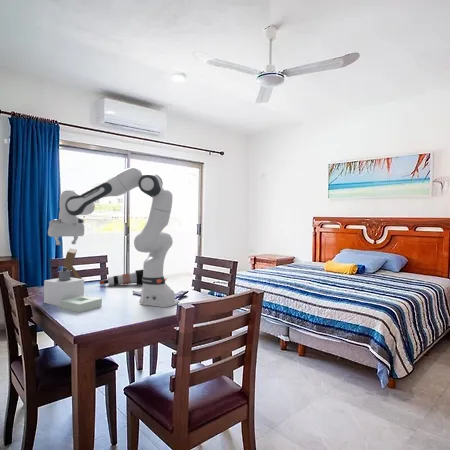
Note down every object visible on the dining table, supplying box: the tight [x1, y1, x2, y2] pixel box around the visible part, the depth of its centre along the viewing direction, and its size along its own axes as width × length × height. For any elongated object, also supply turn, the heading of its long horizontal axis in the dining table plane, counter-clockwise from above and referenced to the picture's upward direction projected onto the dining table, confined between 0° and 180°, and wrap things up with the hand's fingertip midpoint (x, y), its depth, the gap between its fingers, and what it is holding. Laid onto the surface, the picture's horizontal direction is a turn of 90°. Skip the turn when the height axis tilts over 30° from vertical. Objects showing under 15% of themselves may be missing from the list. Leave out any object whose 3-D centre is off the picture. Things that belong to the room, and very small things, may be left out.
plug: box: [58, 266, 71, 281], centre depth 184 cm, size 4×4×10 cm
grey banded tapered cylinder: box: [99, 269, 143, 287], centre depth 233 cm, size 10×34×10 cm, turn 110°
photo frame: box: [61, 247, 83, 279], centre depth 215 cm, size 15×22×25 cm
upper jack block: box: [43, 276, 85, 307], centre depth 184 cm, size 14×14×12 cm
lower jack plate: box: [59, 294, 103, 313], centre depth 175 cm, size 14×14×4 cm
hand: (66, 244), depth 188 cm, fingers open, 8 cm apart
